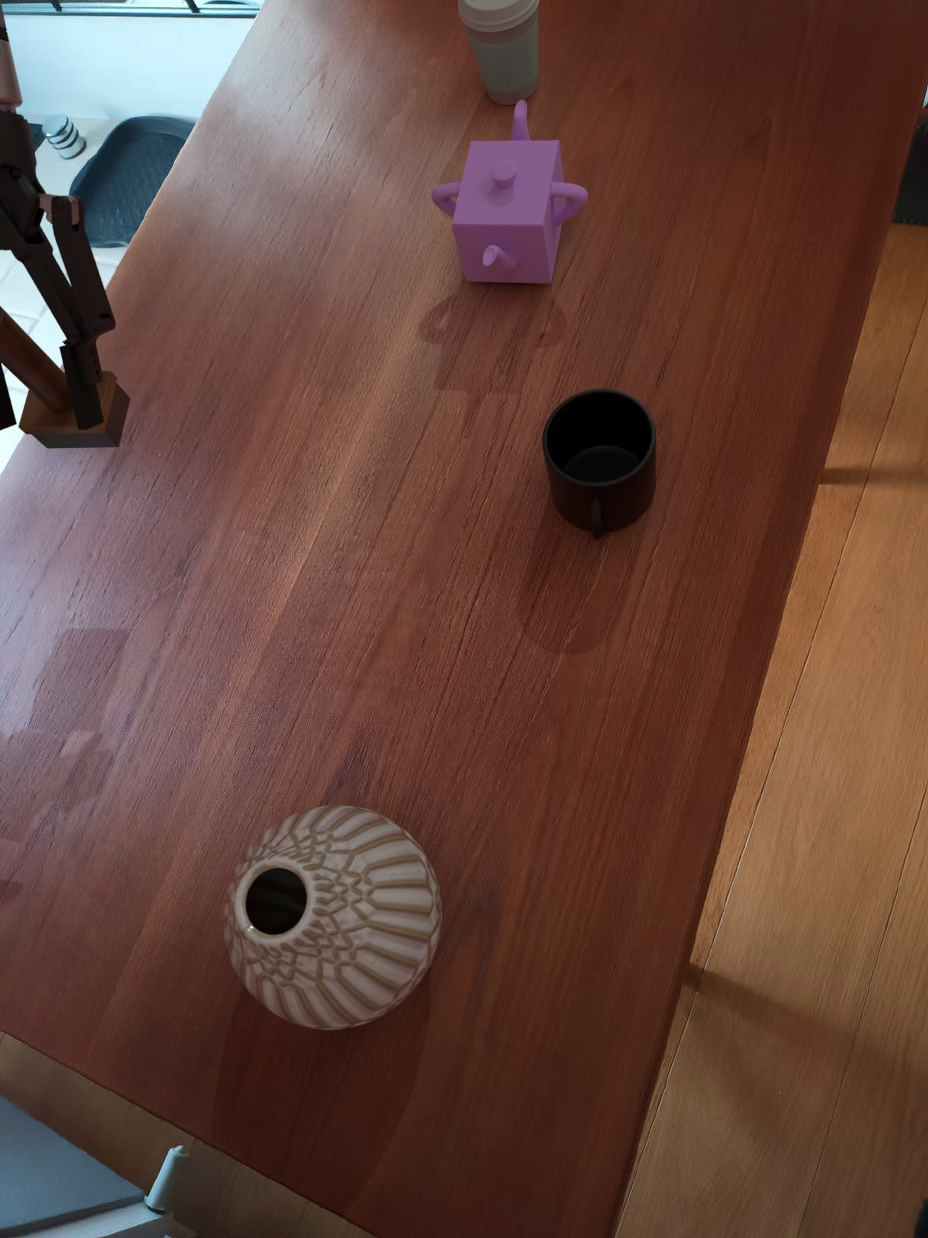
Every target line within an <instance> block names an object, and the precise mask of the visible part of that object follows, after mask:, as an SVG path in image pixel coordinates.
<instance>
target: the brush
mask: <svg viewBox="0 0 928 1238" xmlns="http://www.w3.org/2000/svg"><path fill="white" fill-rule="evenodd" d="M0 362H1V364H2V366H4V367H5V368H6V370H8V371H9V373H11V374H12V375H13V376H14V377H15V378H16V379H17V380H19V382H20V383H22V384H23V385H24V387H25V388H27V390H28V391H27V394H26V397H25V401H24V404H23V409H22V413H21V415H20V419H19V422H18V427H17V428H18V429H19V430H20V431H21V432H23V433H24V435H31V436H32V437H33V438H34V439H35V440H37V441H38V442H39V443H40V444H41V445H42V446H43V447H45V448H46V449H95V448H97V449H99V448H104V449H105V448H119V447H120V446H121V441H122V436H123V431H124V427H125V425H126V424H125V423H126V420H127V415H128V412H129V408H130V402H131V397H130V396H129V394H127V392H126V391H125V390H124V389H123V387H121V386H120V384H119V383H118V377H117V376H116V375H115V374H114V373H113V371H112V370H102V374H103V378H102V382H100V383H97V384H96V386H97V391H98V395H99V400H100V405H101V409H102V414H103V418H104V422H103V423H101V424H99V425H97V426H94V427H92V428H90V429H88V430H78V426H77V422H76V418H75V413H74V409H73V405H72V400H71V396H70V392H69V387H68V383H67V379H66V375H65V371H63V370H62V369H61V368H60V366H58V365H57V363H56V362H55V361H54V360H53V359H52V357H50V356H49V355H48V354H47V352H45V351H44V350H43V348H42V347H40V346H39V344H37V342H36V341H35V340H34V339H33V338H32V337H31V336H30V335H29V334H28V333H27V331H25V329H23V328H22V327H21V326H20V325H19V324H18V322H17V321H16V320H15V319H14V318H13V317H12V316H11V315H10V314H9V313H8V312H7V311H6V310H5V309H4V308H3V307H2V305H0Z"/></svg>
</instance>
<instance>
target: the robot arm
mask: <svg viewBox="0 0 928 1238" xmlns="http://www.w3.org/2000/svg"><path fill="white" fill-rule="evenodd" d="M21 91H22V90H21V87H20V82H19V78H18V74H17V69H16V64H15V60H14V55H13V50H12V47H11V43H10V38H9V34H8V28H7V25H6V20H5V14H4V10H3V5H2V0H0V251H4V252H5V251H10V252H11V254H12V255H13V258H15V260H16V261H17V262H19V263H21V264H22V265H23V266H24V268H25V270H26V272H27V274H28V275H29V277H30V279H31V280H32V283H33V284H34V286H35V287H36V289H37V291H38V292H39V294H40V295H41V296H40V297H42V299H43V301H44V303H45V304H46V306H47V308H48V309H49V311H50V313H51V315H52V316H53V318H54V320H55V322H56V323H57V325H58V326H59V328H60V330H61V331H62V334H63V335H64V337H65V338H66V339H64V340H62V341H61V342H62V343H63V345H61V346H58V349H59V352H60V357H61V362H62V365H63V370H64V372H65V375H66V379H67V383H68V387H69V392H70V396H71V400H72V405H73V409H74V413H75V418H76V422H77V426H78V430H88V429H90V428H92V427H94V426H97V425H99V424H101V423H103V422H104V418H103V414H102V409H101V405H100V400H99V395H98V391H97V386H96V384H97V383H100V382H102V378H103V374H102V371H103V369H102V366H101V361H100V356H99V352H98V347H97V341H98V338H99V337H100V336H103V335H104V334H106V333H108V332H111V331H113V330H115V328H116V326H117V321H116V318H115V315H114V313H113V310H112V307H111V303H110V300H109V298H108V294H107V291H106V288H105V286H104V282H103V279H102V276H101V274H100V271H99V267H98V265H97V262H96V258H95V255H94V252H93V249H92V246H91V244H90V241H89V237H88V234H87V231H86V226H85V225H86V224H85V223H86V222H85V203H84V200H83V198H82V197H80V196H79V195H78V194H70V195H58V194H52V193H47V192H46V190H45V188H44V187H43V185H42V184H41V183H40V180H39V179H38V177H37V176H38V175H37V165H38V161H37V157H36V152H35V147H34V144H33V143H34V142H33V140H32V139H33V138H32V134H31V129H30V125H29V120H28V119H26V118H25V116H24V114H23V115H22V114H21V113H17V108H19V107H21V106H22V104H23V103H24V101H23V97H22V92H21ZM44 216H45V220H46V221H47V222H48V223H49V224H51V226H52V227H51V228H52V232H53V236H54V240H55V243H56V246H57V249H58V252H59V255H60V258H61V261H62V264H63V267H64V269H65V272H66V274H65V273H64V271H63V270H62V268H61V266H60V264H59V263H58V261H57V259H56V257H55V255H54V247H53V245H52V243H51V242H50V240H49V238H48V236H47V234H46V233H45V231H44V229H43V227H42V226H41V224H42V221H43V218H44ZM66 275H67V276H66ZM10 395H11V394H10V391H9V388H8V383H7V379H6V376H5V371H4V369H3V364H2V363H1V362H0V432H1V431H3V430H6V429H9V428H11V427H14V426H16V425H18V422H17V418H16V414H15V411H14V408H13V404H12V398H11V396H10Z"/></svg>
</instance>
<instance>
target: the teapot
mask: <svg viewBox="0 0 928 1238" xmlns="http://www.w3.org/2000/svg"><path fill="white" fill-rule="evenodd" d="M512 119H513V120H512V129H511V135H510V140H471V141H470V142H469V143H470V144H469V148H468V153H467V157H466V161H465V164H464V168H463V173H462V178H461V180H460V181H455V182H454V181H453V182H447V183H442V184H439V185H437V186H435V187H434V188H433V190H432V192H431V200H432V202H433V203H434V205H435V206H436V207H437V208H438V209H440V210H441V211H442V212H443V213H445V214H447V215H448V216H450V217H451V218H452V222H451V230H452V232H453V237H454V240H455V244H456V248H457V251H458V256H459V259H460V263H461V267H462V272H463V273H464V274H463V275H464V278H465V281H466V282H477V283H479V282H481V283H512V284H514V283H515V284H518V283H519V284H549V285H551V284H552V280H553V276H554V271H555V265H556V260H557V255H558V249H559V243H560V238H561V233H562V227H563V223H565V222H567V221H568V220H570V219H571V218H573V217H574V216H576V215H577V214H579V212H581V211H582V210H583V208H584V207H585V205H586V204H587V202H588V199H589V193H588V191H587V189H586V188H585V187H583V186H581V185H579V184H574V183H569V182H565V178H564V176H565V175H564V170H563V169H564V168H563V167H564V166H563V159H562V151H561V150H562V149H561V142H560V139H553V140H551V139H550V140H531V137H530V133H529V128H528V105H527V101H526V100H520V101H519V102H518V103H517V104H515V106H514V111H513V117H512ZM453 197H457V199H456V201H455V200H454V199H453ZM567 199H568V201H567Z"/></svg>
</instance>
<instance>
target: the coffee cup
mask: <svg viewBox="0 0 928 1238" xmlns="http://www.w3.org/2000/svg"><path fill="white" fill-rule="evenodd" d="M540 1H541V0H457V13H458V16H459V18H460V20H461V21H462V23H463V24H464V25H465V29H466V32H467V35H468V39H469V41H470V44H471V47H472V50H473V54H474V57H475V60H476V64H477V66H478V68H479V72H480V76H481V79H482V82H483V85H484V88H485V91H486V94H487V96H488V98H489V99H490V100H491V101H492V102H494V103H496V104H498V105H502V106H512V105H516V104H517V103H518V102H519V101H520V100H525V101H526V100H528V99H529V98H530V97H531V96H532V95H533V94H534V93H535V91H536V90H537V88H538V83H539V82H538V81H539V43H538V42H539V4H540Z"/></svg>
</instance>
